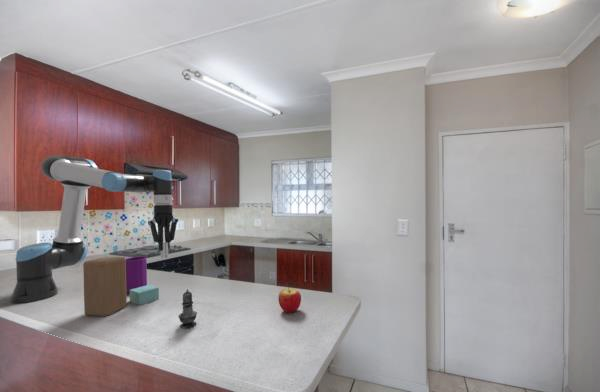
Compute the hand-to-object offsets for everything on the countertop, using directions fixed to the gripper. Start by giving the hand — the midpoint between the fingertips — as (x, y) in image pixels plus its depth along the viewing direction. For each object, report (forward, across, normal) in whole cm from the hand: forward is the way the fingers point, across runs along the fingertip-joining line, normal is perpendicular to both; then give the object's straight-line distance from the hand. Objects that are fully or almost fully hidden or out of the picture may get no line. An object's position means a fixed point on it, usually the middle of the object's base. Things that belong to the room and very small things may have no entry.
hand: (164, 257), depth 127 cm
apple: (+17, +16, -59) cm, 63 cm away
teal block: (+17, -9, 0) cm, 19 cm away
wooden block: (+17, -23, 0) cm, 28 cm away
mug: (+17, -6, +20) cm, 27 cm away
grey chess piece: (+17, -12, -38) cm, 43 cm away
